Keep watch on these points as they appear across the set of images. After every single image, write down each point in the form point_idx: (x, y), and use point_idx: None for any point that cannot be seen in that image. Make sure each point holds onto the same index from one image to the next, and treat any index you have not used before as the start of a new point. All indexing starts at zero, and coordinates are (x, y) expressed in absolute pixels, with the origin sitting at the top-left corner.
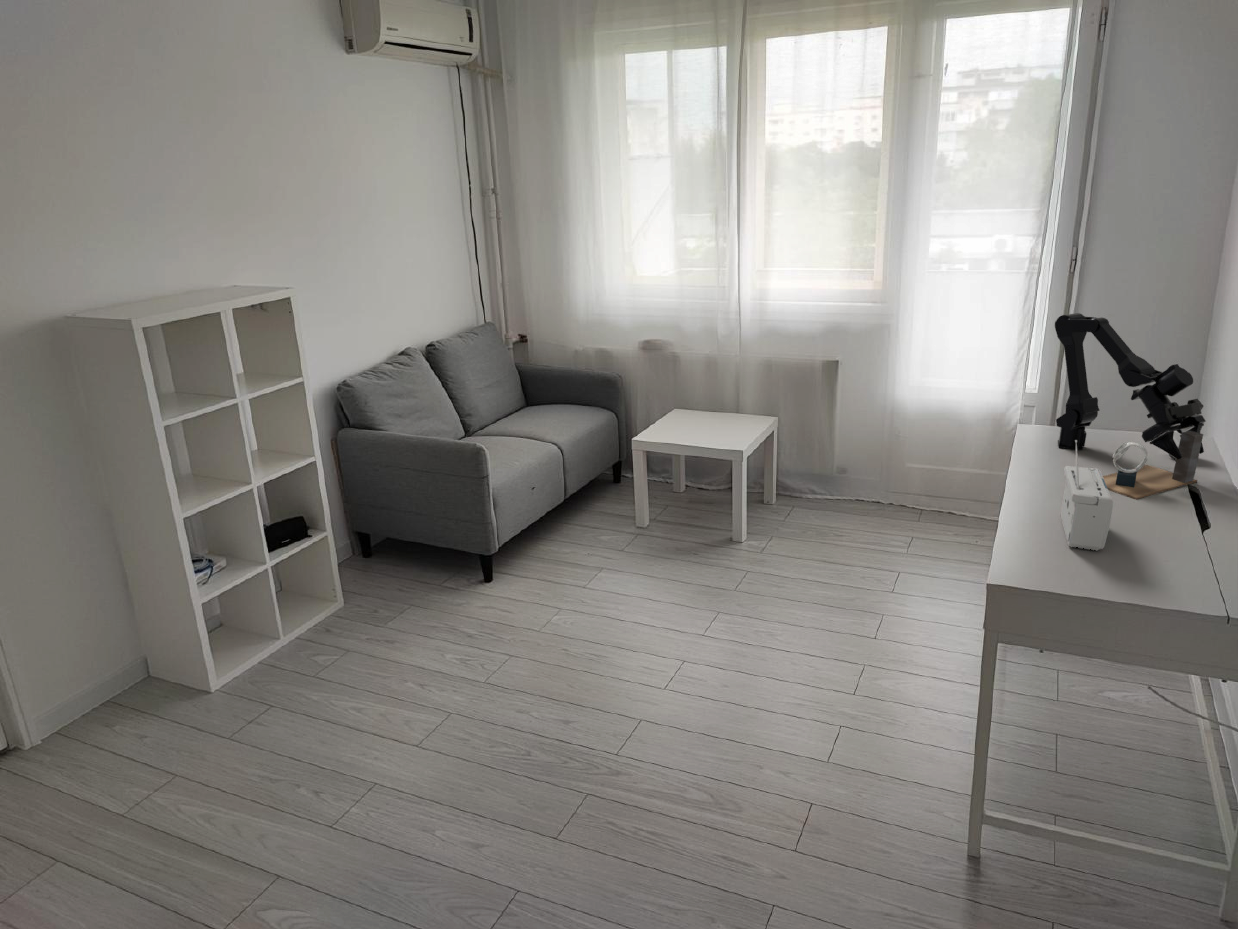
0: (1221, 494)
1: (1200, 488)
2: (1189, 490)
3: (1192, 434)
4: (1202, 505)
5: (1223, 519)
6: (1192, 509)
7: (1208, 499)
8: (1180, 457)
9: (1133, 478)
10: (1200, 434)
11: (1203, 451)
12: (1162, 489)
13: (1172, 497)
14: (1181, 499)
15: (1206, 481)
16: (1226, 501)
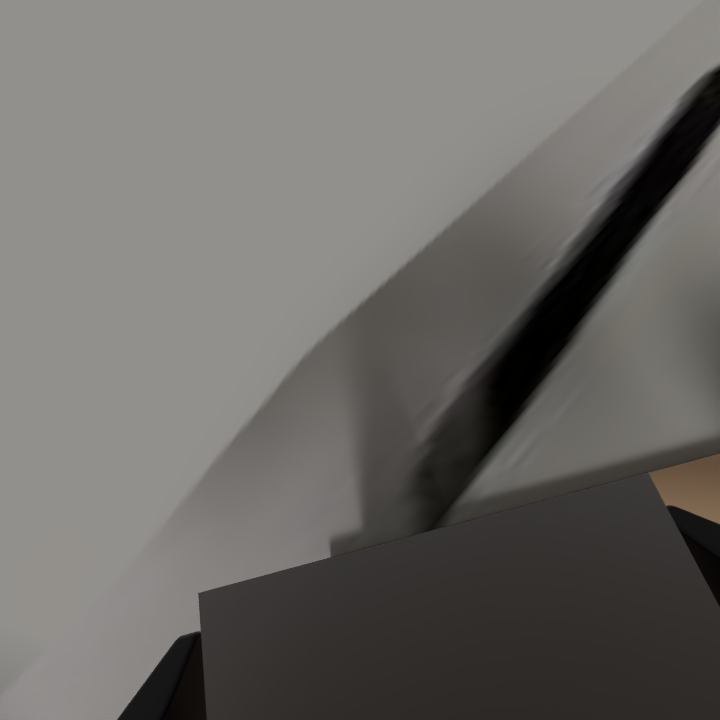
0: (360, 343)
1: (400, 449)
2: (496, 436)
3: (613, 700)
4: (580, 244)
5: (592, 119)
6: (669, 214)
7: (488, 300)
8: (678, 513)
9: None
10: (315, 596)
11: (189, 634)
12: (712, 463)
13: (686, 363)
14: (647, 328)
15: (255, 551)
16: (416, 264)
